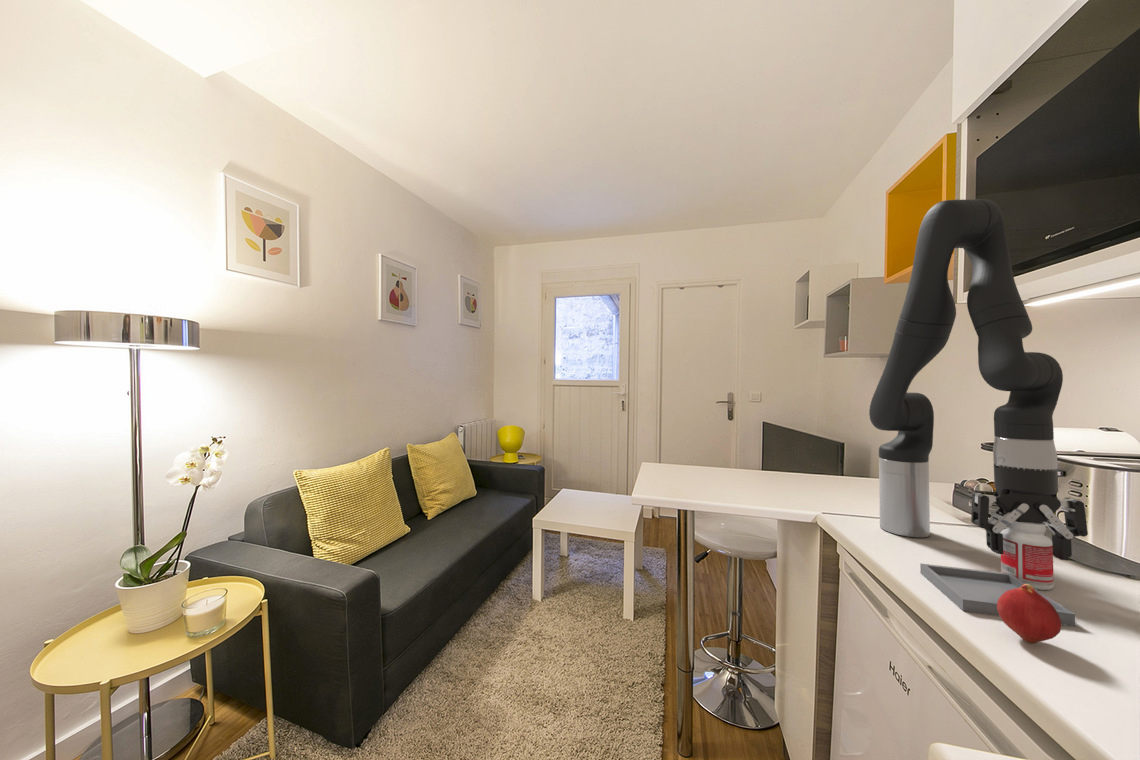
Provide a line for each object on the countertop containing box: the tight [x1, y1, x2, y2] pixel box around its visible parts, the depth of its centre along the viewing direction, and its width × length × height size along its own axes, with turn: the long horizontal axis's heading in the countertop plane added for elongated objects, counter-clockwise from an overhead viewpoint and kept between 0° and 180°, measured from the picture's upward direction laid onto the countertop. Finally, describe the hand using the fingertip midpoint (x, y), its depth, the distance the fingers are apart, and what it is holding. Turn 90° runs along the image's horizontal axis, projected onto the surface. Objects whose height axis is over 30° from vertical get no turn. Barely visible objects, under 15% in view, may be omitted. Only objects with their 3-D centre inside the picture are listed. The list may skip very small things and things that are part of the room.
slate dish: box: [919, 562, 1076, 627], centre depth 66 cm, size 13×13×2 cm
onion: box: [997, 584, 1063, 644], centre depth 55 cm, size 6×6×8 cm
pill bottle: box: [1000, 520, 1055, 591], centre depth 71 cm, size 6×6×11 cm
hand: (1027, 555), depth 70 cm, fingers open, 8 cm apart
